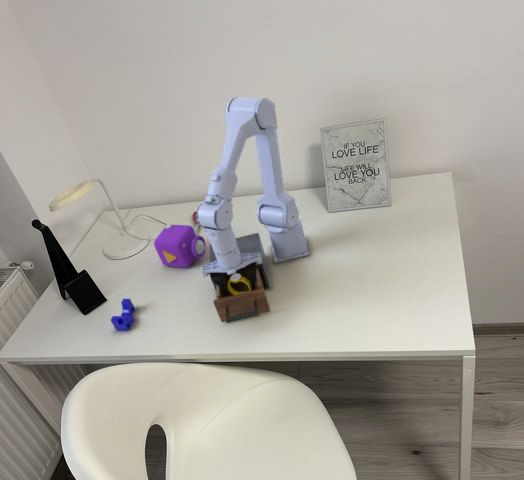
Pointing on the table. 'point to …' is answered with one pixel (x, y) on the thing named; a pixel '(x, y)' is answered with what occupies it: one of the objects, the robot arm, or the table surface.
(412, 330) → the table surface
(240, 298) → the drawer
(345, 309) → the table surface
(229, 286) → the watch
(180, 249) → the toy camera
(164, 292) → the table surface
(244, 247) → the cabinet
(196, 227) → the scissors
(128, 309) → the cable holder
